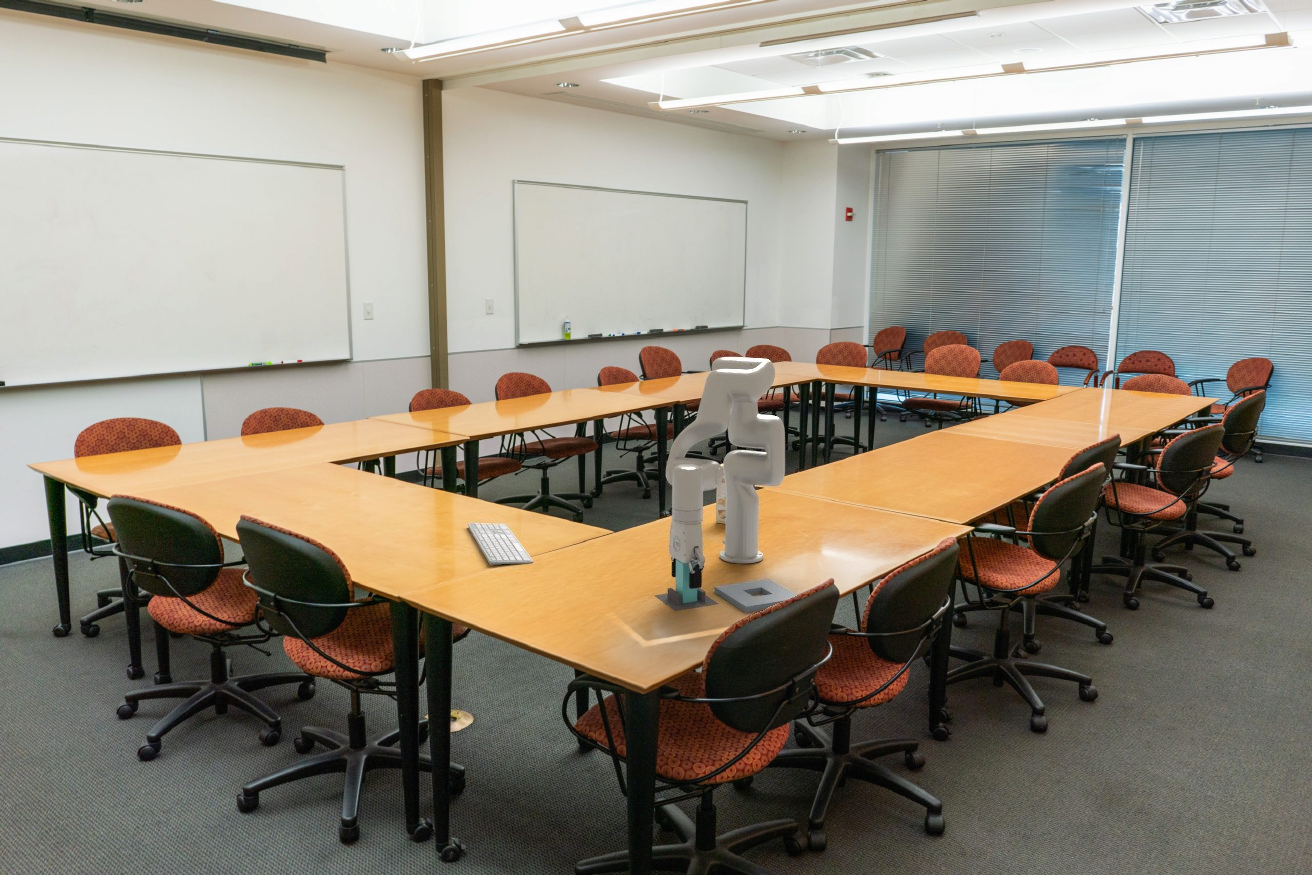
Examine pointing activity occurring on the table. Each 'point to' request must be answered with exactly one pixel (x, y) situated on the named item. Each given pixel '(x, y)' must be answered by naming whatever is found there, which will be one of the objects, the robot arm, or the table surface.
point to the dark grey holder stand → (675, 602)
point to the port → (743, 593)
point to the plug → (684, 582)
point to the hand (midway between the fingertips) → (686, 581)
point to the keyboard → (499, 544)
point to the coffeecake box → (721, 501)
